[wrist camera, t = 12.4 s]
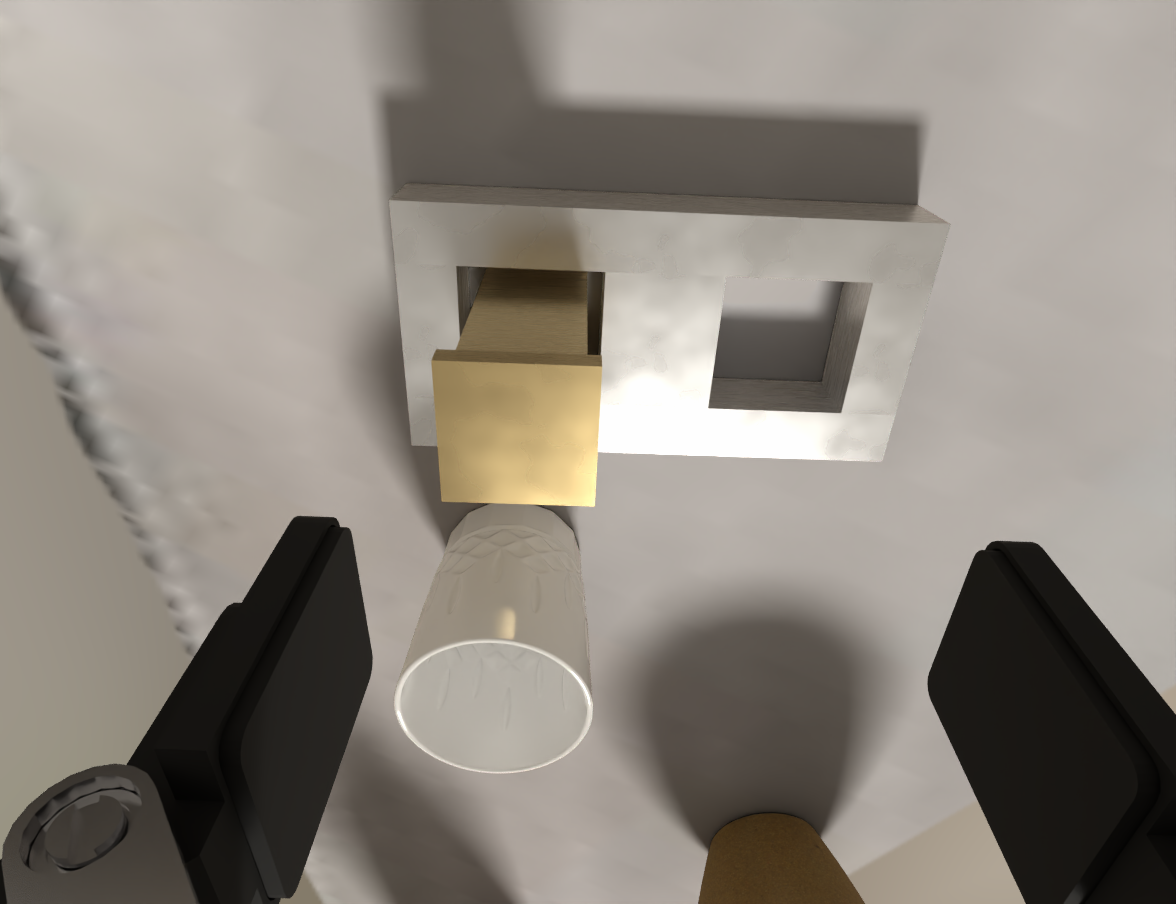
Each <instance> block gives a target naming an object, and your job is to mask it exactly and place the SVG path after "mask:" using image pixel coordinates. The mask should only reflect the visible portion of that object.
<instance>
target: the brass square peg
mask: <svg viewBox="0 0 1176 904" xmlns="http://www.w3.org/2000/svg"><path fill="white" fill-rule="evenodd" d="M431 365H432V379H433V392H434V406H435V419H436V433H437V446H438V459H439V473H440V486H441V500H442V502H470V503H501V504H533V505H565V506H595V492H596V473H597V455H598V437H599V418H600V400H601V382H602V355H587V271H569V270H544V269H519V268H494V267H487V269H486V272H485V275H484V277H483V280H482V282H481V285H480V288H479V290H478V293H477V295H476V298H475V301H474V303H473V306H472V308H471V311H470V314H469V316H468V319H467V321H466V324H465V327H464V329H463V332H462V334H461V337H460V340H459V342H458V345H457V347H456V350H444V349H436V351H435V353H434V355H433V357H432V360H431Z"/></svg>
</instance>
